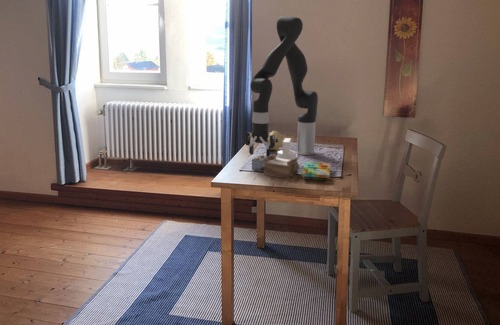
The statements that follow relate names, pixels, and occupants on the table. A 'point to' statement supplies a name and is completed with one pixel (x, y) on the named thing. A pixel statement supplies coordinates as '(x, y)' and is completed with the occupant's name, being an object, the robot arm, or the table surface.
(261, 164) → the block
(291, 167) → the stand
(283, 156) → the cylinder with rectangular tab
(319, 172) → the puzzle game
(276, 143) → the tan toy hamster
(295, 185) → the table surface
